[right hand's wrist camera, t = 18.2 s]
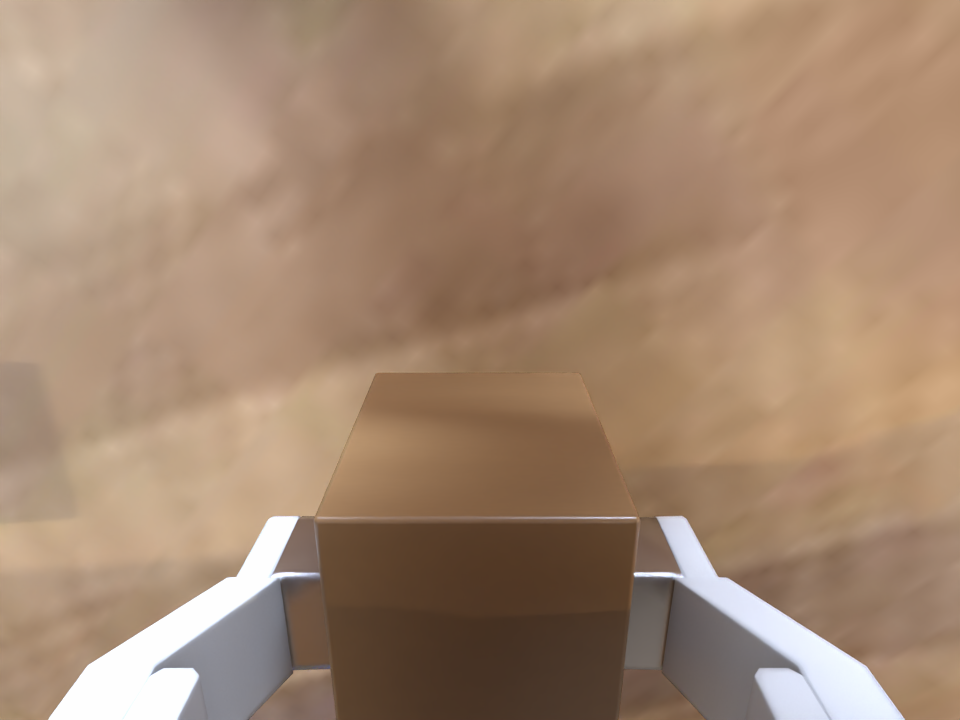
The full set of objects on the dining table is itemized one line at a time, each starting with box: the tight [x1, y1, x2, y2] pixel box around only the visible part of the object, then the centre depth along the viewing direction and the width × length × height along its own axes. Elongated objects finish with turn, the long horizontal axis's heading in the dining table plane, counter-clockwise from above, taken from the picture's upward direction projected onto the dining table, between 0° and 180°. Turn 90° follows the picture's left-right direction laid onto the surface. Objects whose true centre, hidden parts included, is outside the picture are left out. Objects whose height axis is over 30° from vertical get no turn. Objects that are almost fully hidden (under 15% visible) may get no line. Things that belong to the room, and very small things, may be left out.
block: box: [314, 373, 640, 720], centre depth 11 cm, size 4×5×5 cm
